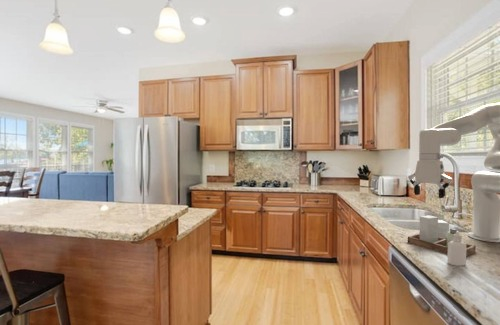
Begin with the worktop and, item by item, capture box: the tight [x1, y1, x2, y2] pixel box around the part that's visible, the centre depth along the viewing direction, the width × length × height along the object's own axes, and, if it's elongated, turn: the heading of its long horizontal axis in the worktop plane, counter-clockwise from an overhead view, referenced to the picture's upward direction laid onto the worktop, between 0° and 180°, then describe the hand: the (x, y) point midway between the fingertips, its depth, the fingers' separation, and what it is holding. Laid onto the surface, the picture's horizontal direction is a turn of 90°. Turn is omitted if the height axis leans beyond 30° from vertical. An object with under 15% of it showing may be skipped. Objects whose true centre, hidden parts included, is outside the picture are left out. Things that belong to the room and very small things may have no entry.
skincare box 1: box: [419, 215, 439, 243], centre depth 116 cm, size 6×4×12 cm
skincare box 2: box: [438, 219, 450, 239], centre depth 126 cm, size 6×6×7 cm
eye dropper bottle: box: [447, 230, 467, 267], centre depth 94 cm, size 4×6×12 cm
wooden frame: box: [407, 232, 476, 257], centre depth 111 cm, size 12×20×2 cm, turn 30°
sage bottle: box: [446, 228, 462, 247], centre depth 107 cm, size 4×4×9 cm
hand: (428, 196), depth 115 cm, fingers open, 9 cm apart
